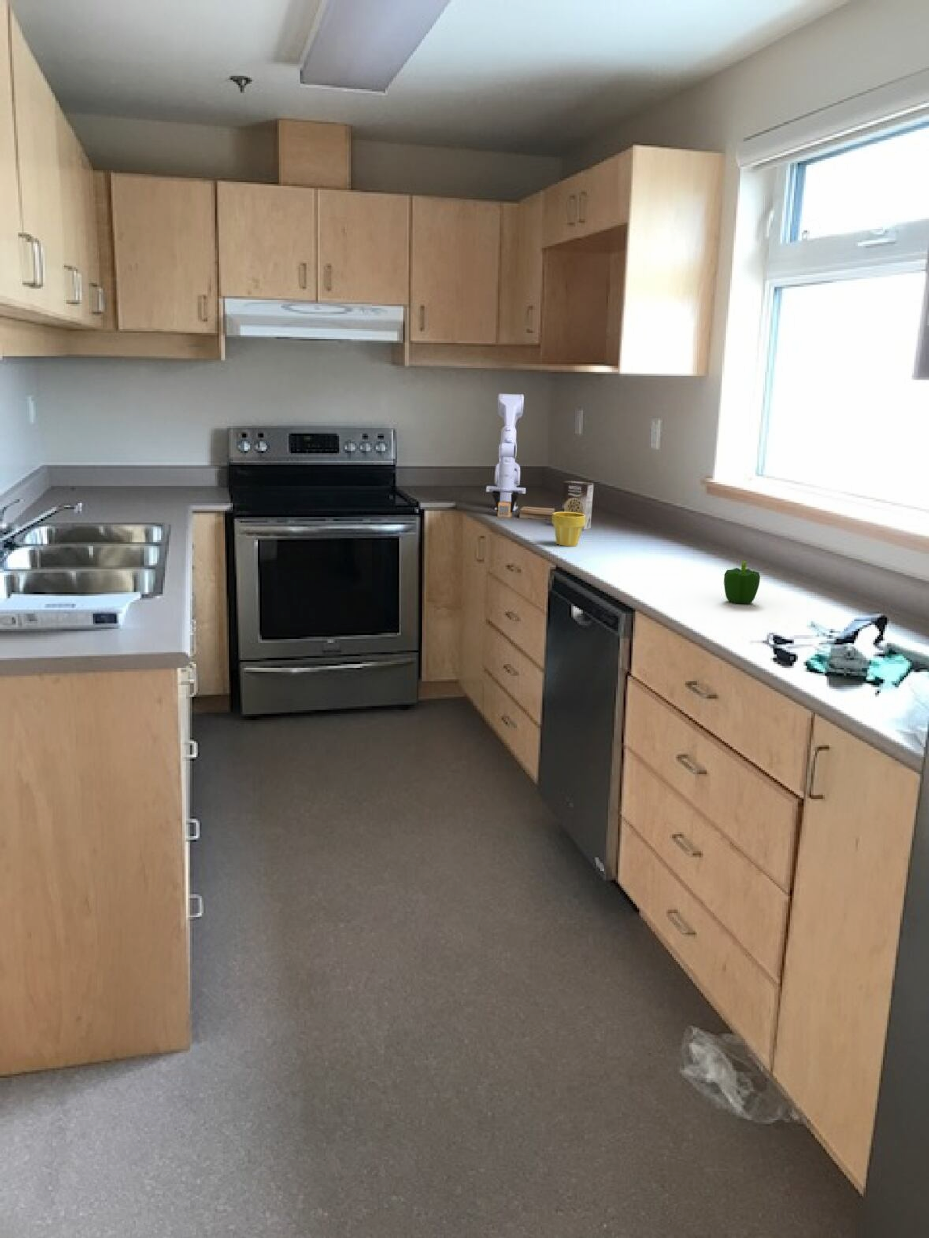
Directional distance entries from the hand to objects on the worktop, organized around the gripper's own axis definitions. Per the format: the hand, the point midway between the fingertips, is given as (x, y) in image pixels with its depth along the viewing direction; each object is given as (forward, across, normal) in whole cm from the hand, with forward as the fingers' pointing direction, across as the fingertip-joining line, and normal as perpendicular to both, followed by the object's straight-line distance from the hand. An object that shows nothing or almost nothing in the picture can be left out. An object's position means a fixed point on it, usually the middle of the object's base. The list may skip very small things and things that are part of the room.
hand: (504, 511), depth 374 cm
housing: (+1, 0, 0) cm, 1 cm away
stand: (+1, +12, +1) cm, 12 cm away
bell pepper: (+2, +76, -122) cm, 144 cm away
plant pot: (+2, +28, -55) cm, 62 cm away
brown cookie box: (+2, +28, -19) cm, 34 cm away
